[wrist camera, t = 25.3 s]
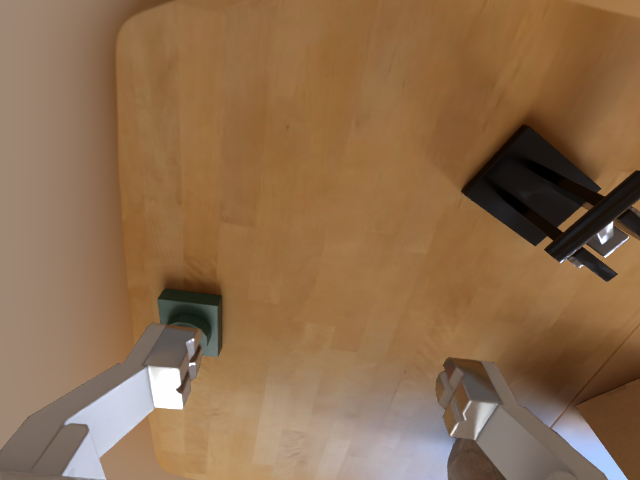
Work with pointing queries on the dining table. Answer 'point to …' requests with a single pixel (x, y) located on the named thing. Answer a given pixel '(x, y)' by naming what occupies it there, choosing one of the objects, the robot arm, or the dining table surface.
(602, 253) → the lever
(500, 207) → the bracket
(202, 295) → the button box
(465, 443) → the clay pot
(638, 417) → the sandwich container
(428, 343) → the dining table surface
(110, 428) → the robot arm
